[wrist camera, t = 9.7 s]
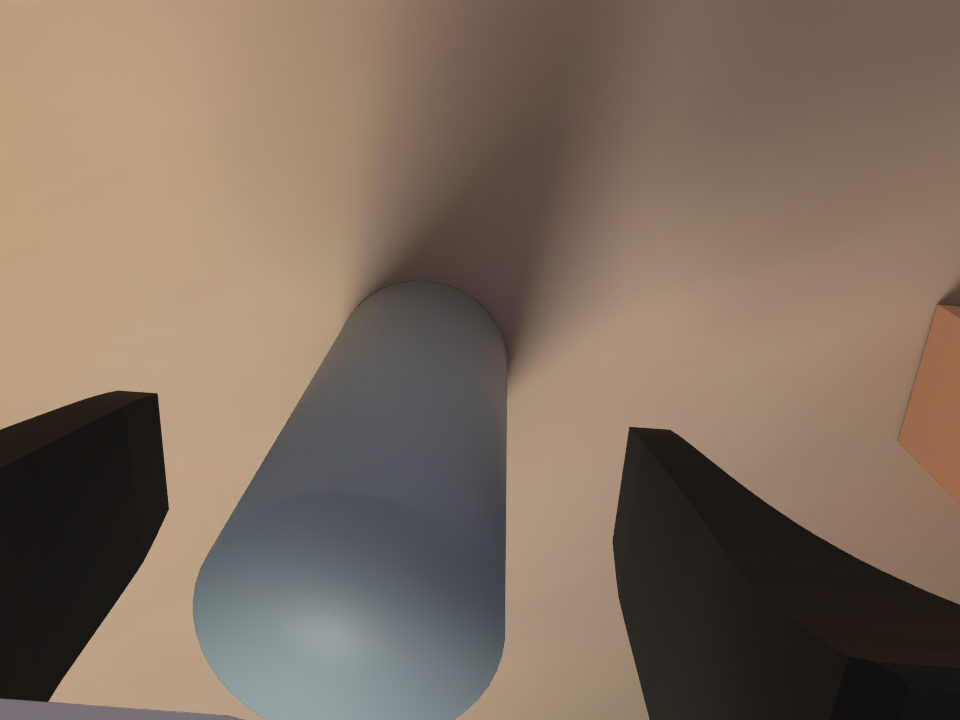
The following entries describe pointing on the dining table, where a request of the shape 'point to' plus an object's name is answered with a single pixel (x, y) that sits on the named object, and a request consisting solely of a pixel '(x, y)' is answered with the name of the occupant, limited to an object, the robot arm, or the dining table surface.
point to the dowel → (373, 526)
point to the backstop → (937, 403)
